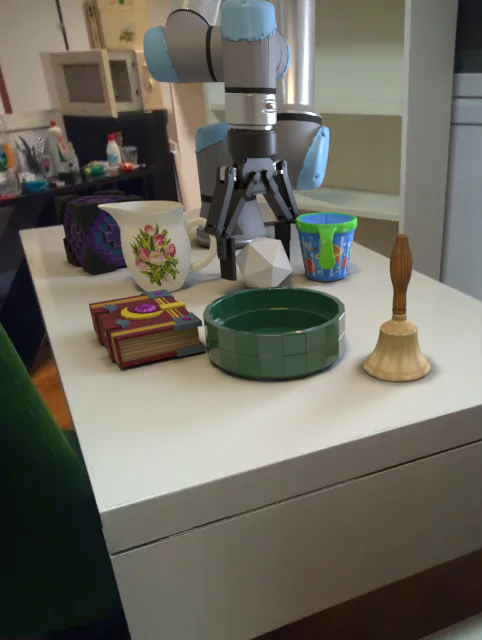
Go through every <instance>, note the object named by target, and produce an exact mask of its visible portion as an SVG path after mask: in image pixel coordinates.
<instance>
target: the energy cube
mask: <svg viewBox="0 0 482 640" xmlns="http://www.w3.org/2000/svg"><path fill="white" fill-rule="evenodd" d="M52 199H53V203H54V207H55V212H56V216H57V221H58V222H59V223H60V224H62V227H63V231H64V236H65V237H63V238H62V242H63V247H64V252H65V256H66V259H67V263H69V264H71V265H73V266H75V267H82V270H83V271H84V272H85V273H88V274H89V275H91V276H97V275H102V274H106V273H111V272H115V271H116V270H117V268H118V267H124V266H127V265H126V262H125V259H124V255H123V251H122V245H121V230H120V227H119V225H118V224H117V222H116V220H115V219H114V218H113V217H112V216H111V214H109V213H108V212H106V211H105V210H102V209H100V208H99V207H98V205H100V204H108V203H122V202H133V201H144V197H143V196H140V195H135V194H128V195H126V194H125V191H122V190H119V189H107V190H99V191H98V190H97V191H93V192H92V195H83V196H80V195H79V194H76V193H73V194H66V195H60V196H59V195H58V196H53V198H52Z"/></svg>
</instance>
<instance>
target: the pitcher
mask: <svg viewBox="0 0 482 640" xmlns="http://www.w3.org/2000/svg"><path fill="white" fill-rule="evenodd" d="M98 207H99V208H100V209H102V210H105V211H106V212H108V213H109V214H111V216H112V217H113V218H114V219H115V220H116V222H117V224H118V225H119V227H120V230H121V245H122V251H123V255H124V259H125V262H126V265H125V266H126V267H127V270H128V271H129V273H130V276H131V277H132V278H133V280H134V281H135V283H136V284H137V285H138V286H139V287H140V288H141V289H142V290H143V291H144V292H145V293H147V292H152V291H158V290H163V289H166V290H167V291H168V292H169V293H173V292H176V291H178V290H180V289H181V288H182V287H183V285H184V283H185V281H186V279H187V278H188V275H189V274H191V273H193V272H197V271H199V270H202V269H204V268H206V267H207V266H208V265H210V263H211V262H213V260H214V258H215V257H216V255H217V245H216V238H215V236H211V235H210V241H211V244H210V247H209V250H208V252H207V253H206V255H204V257H202V258H201V259H200V260H198V261H195V262H191V257H192V249H191V247H192V246H191V239H190V235H189V232H190V230H191V229H192V228H194V227H196V226H197V227H198V225H201V226H203V227H205V225H206V221H207V220H206V219H205V218H201V217H198V216H197V217H193V218H191V219H189V220H184V209H185V207H184V204H183V203H182V202H178V201H174V200H173V201H172V200H143V201H133V202H122V203H108V204H100V205H98Z"/></svg>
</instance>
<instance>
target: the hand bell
mask: <svg viewBox="0 0 482 640" xmlns="http://www.w3.org/2000/svg"><path fill="white" fill-rule="evenodd" d="M413 265H414V257H413V251H412V247H411V244H410V240H409V235H408V234H406V233H399V234H397V235H396V236H395V241H394V244H393V247H392V249H391V252H390V257H389V275H390V276H389V277H390V282H391V285H392V292H393V293H392V308H391V312H392V313H391V318H390V319H389V320H386V321H384V322H383V323H381V324H380V326H379V331H378V332H379V333H378V336H377V337H378V338H377V341H376V344H375V348H373V350H372V352H371V353H370V354H368V355H367V357H366V358H365V359H364V361H363V362H362V367H363V371H364V372H365V373H366V374H368V375H369V376H371V377H372V378H377V379H378V380H382V381H388V382H401V383H402V382H410V381H417V380H420V379H422V378H424V377H425V376H427V375H428V374H429V373H430V372H431V368H432V366H431V363H430V361H429V360H428V358H427V357H426V356H425V355H424V354H423V352H422V350H421V347H420V342H419V332H418V326H417V324H416V323H414V322H412V321H411V320H408V317H407V296H408V295H407V294H408V288H409V284H410V281H411V279H412V276H413V275H412V274H413Z"/></svg>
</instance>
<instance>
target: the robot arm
mask: <svg viewBox="0 0 482 640" xmlns="http://www.w3.org/2000/svg"><path fill="white" fill-rule="evenodd" d="M222 1H223V0H171V4H170V8H169V11H168V15H167V18H166V22H165V26H162V25H157V26H154V27H149V28H147V29H146V30H145V32H144V33H143V41H142V42H143V43H142V47H143V48H142V50H143V57H144V61H145V65H146V68H147V70H148V73H149V75H150V76H151V78H152V79H153V80H154V81H156V82H158V83H170V84H172V83H173V84H177V85H180V84H210V83H223V84H224V106H225V107H224V109H225V111H224V112H225V121H221V122H215V123H209V124H205V125H201V126H199V127H198V128H197V129H196V130H195V132H194V145H195V151H194V154H195V159H196V168H197V169H196V170H197V176H198V186H199V194H200V195H199V196H200V210H199V217H201V218H205V219H206V220H207V221H206V225H205V227H203V226H201V225H197V228H196V229H195V231H196V232H195V238H196V243H197V244H198V245H199V246H201V247H205V248H210V244H211V241H210V235H211V236H215V238H216V245H217V251H216V255H217V256H216V257H217V259H218V260H219V270H220V271H219V272H220V279H222V280H227V281H230V282H236V281H237V280H238V275H237V263H236V255H237V253H236V249H244V248H245V247H246V246H247V245H248V244H249V243H250V242H251V241H252V240H253V239H254V238H255V237H256V236H260V237H266V238H268V230H267V227H266V226H272V225H273V226H274V227H273V228H274V239H277V240H281V243H282V245H283V248H284V250H285V253H286V255H287V257H288V260H289V262H290V263H291V240H292V224H293V225H295V223H296V220H297V218H298V217H299V216H300V214H301V215H302V212H301V211H300V210H299V206H298V204H297V200H296V197H295V194H294V191H296V192H300V191H310V190H311V191H312V190H313V191H314V190H317V189H318V188H319V187H320V186H322V184H323V180H324V178H325V174H326V169H327V163H328V157H329V147H330V145H329V144H330V143H329V142H330V129H329V128H328V127H327V126H326V125H323V123H322V122H323V116H322V115H321V113H319V112H318V110H317V109H316V107H315V80H316V79H315V76H316V75H315V71H316V66H315V65H316V64H315V63H316V0H225V1H223V3H222ZM219 13H220V25H217V23H218V19H219ZM257 195H262V196H263V198H264V199H265V201H266V203H267V204H268V207H269V208H270V209H271V211H272V213H273V215H274V216H275V218H276V220H272V221H264V220H263V217H262V213H261V210H260V208H259V205H258V199H257Z"/></svg>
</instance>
